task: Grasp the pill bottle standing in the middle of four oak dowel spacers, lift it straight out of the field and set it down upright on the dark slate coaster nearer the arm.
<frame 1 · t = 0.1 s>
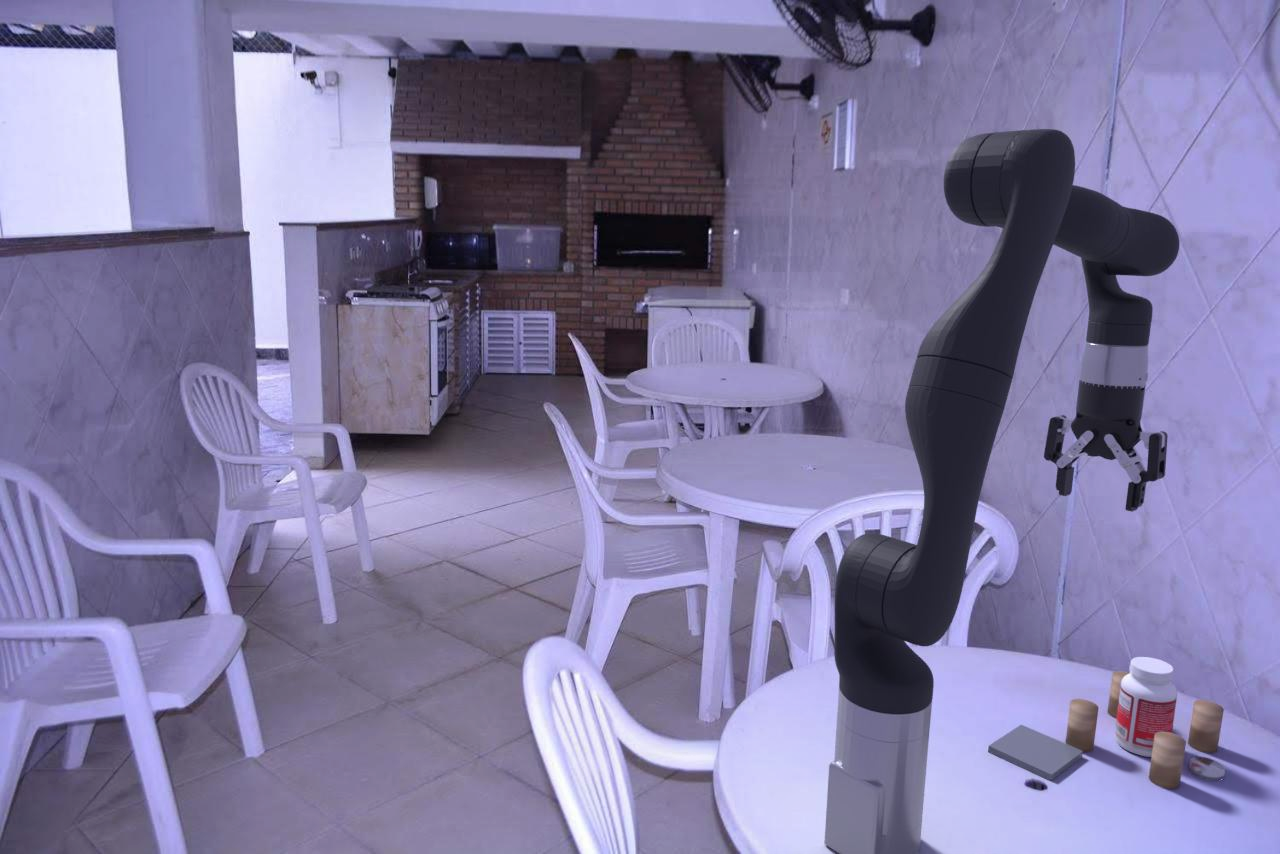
hand: (1097, 502, 119), 29 cm above the table, fingers open, 8 cm apart
shiny metal disc: (1206, 774, 110), on the table
slate coaster: (1034, 754, 114), on the table
pill bottle: (1140, 746, 116), on the table
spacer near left: (1164, 781, 109), on the table
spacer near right: (1079, 745, 116), on the table
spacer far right: (1120, 714, 124), on the table
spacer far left: (1202, 746, 116), on the table
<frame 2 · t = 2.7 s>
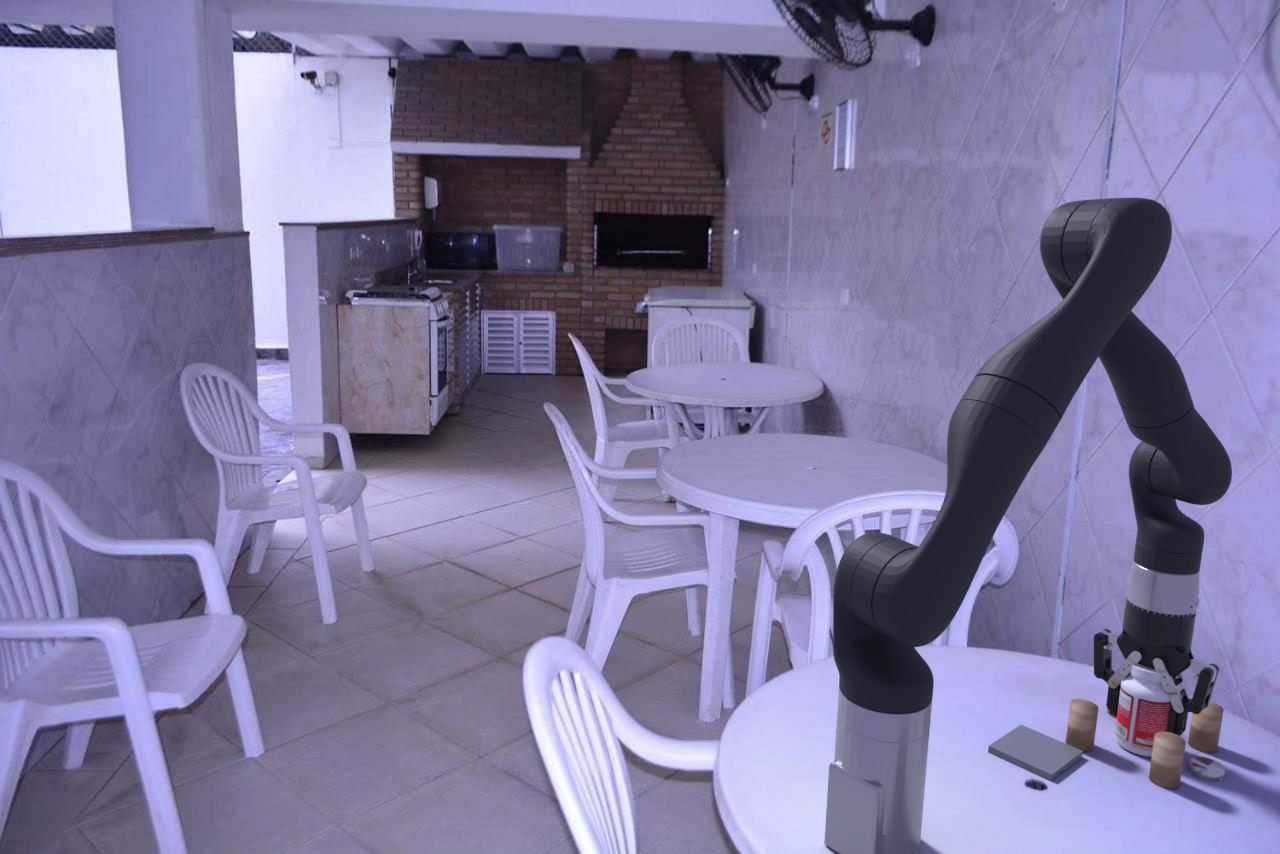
hand: (1144, 724, 115), 3 cm above the table, fingers closed on pill bottle, 6 cm apart
pill bottle: (1140, 746, 116), on the table, touching gripper
everything else where it was.
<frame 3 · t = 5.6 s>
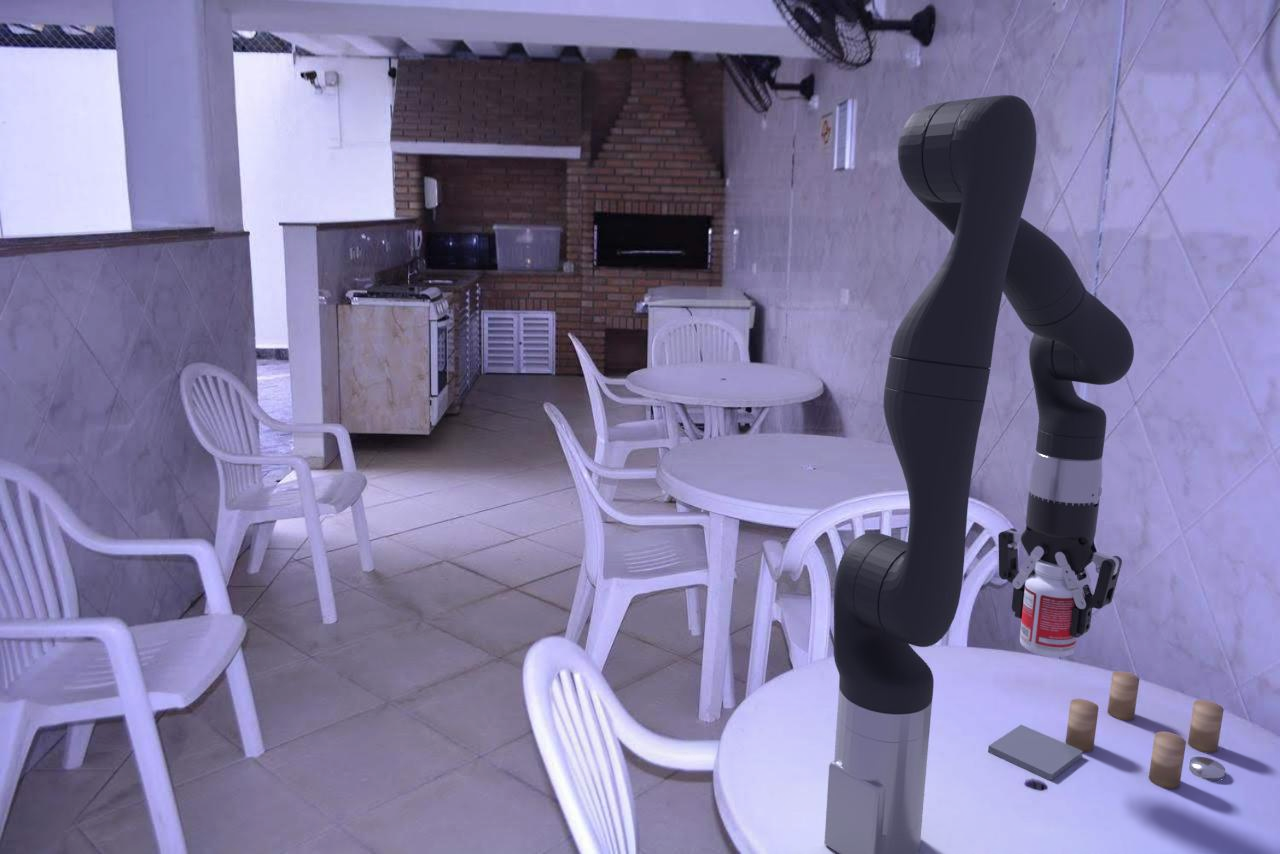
hand: (1049, 625, 110), 17 cm above the table, fingers closed on pill bottle, 6 cm apart
pill bottle: (1046, 649, 111), point 14 cm above the table, touching gripper
everything else where it was.
when the fingers open (5 cm above the table, at t = 8.3 s): pill bottle drops 1 cm, resting on slate coaster.
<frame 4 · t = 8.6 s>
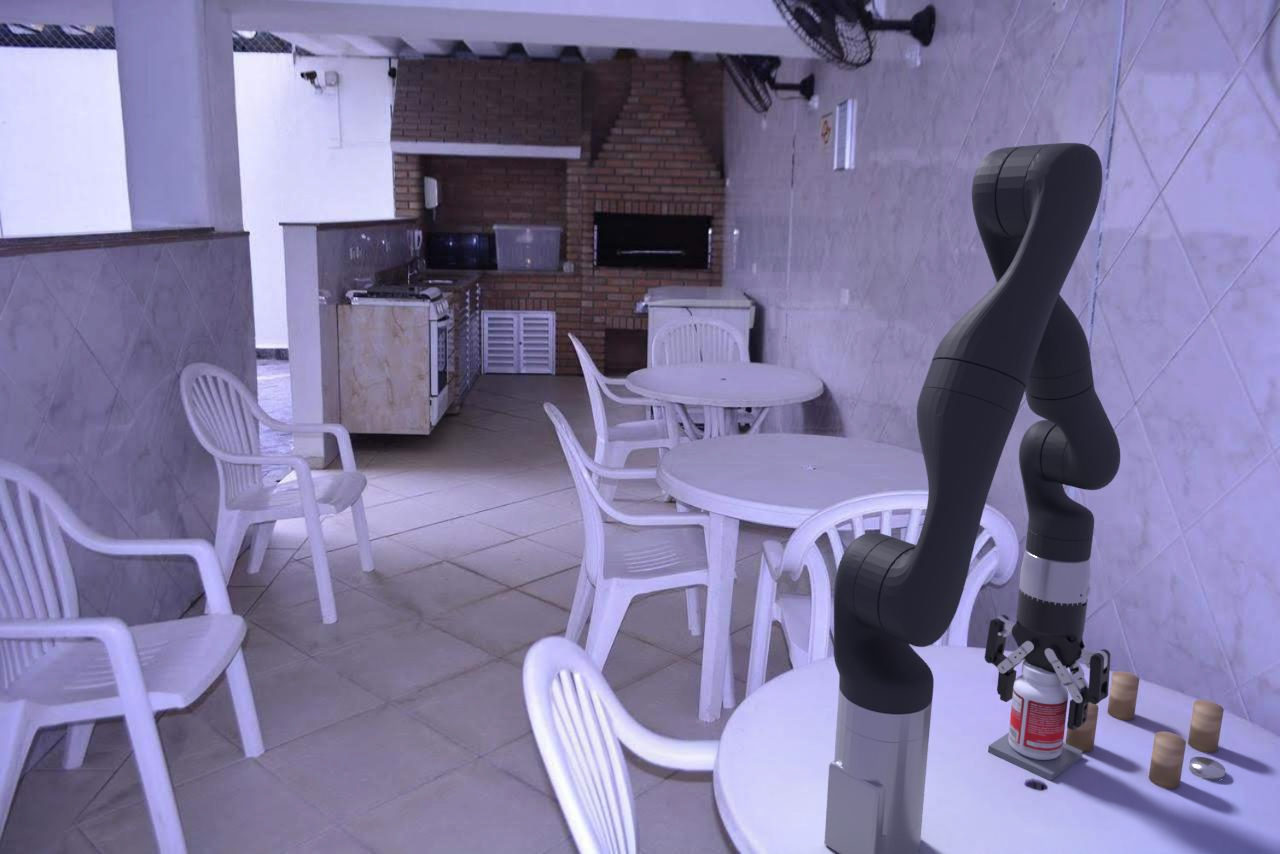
hand: (1039, 713, 113), 6 cm above the table, fingers open, 8 cm apart
pill bottle: (1034, 749, 114), point 1 cm above the table, touching slate coaster
everything else where it was.
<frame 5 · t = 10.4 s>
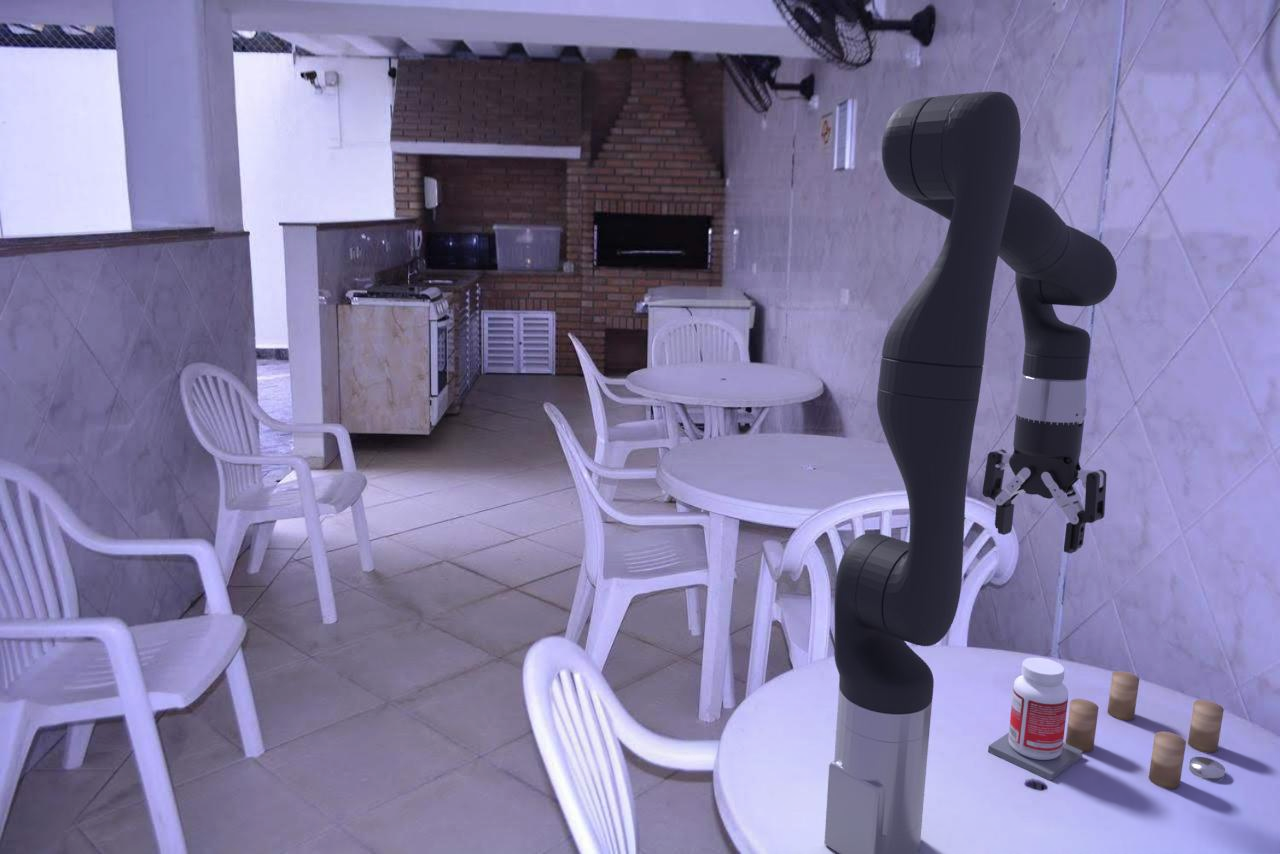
hand: (1036, 542, 113), 26 cm above the table, fingers open, 8 cm apart
nothing on the table moved.
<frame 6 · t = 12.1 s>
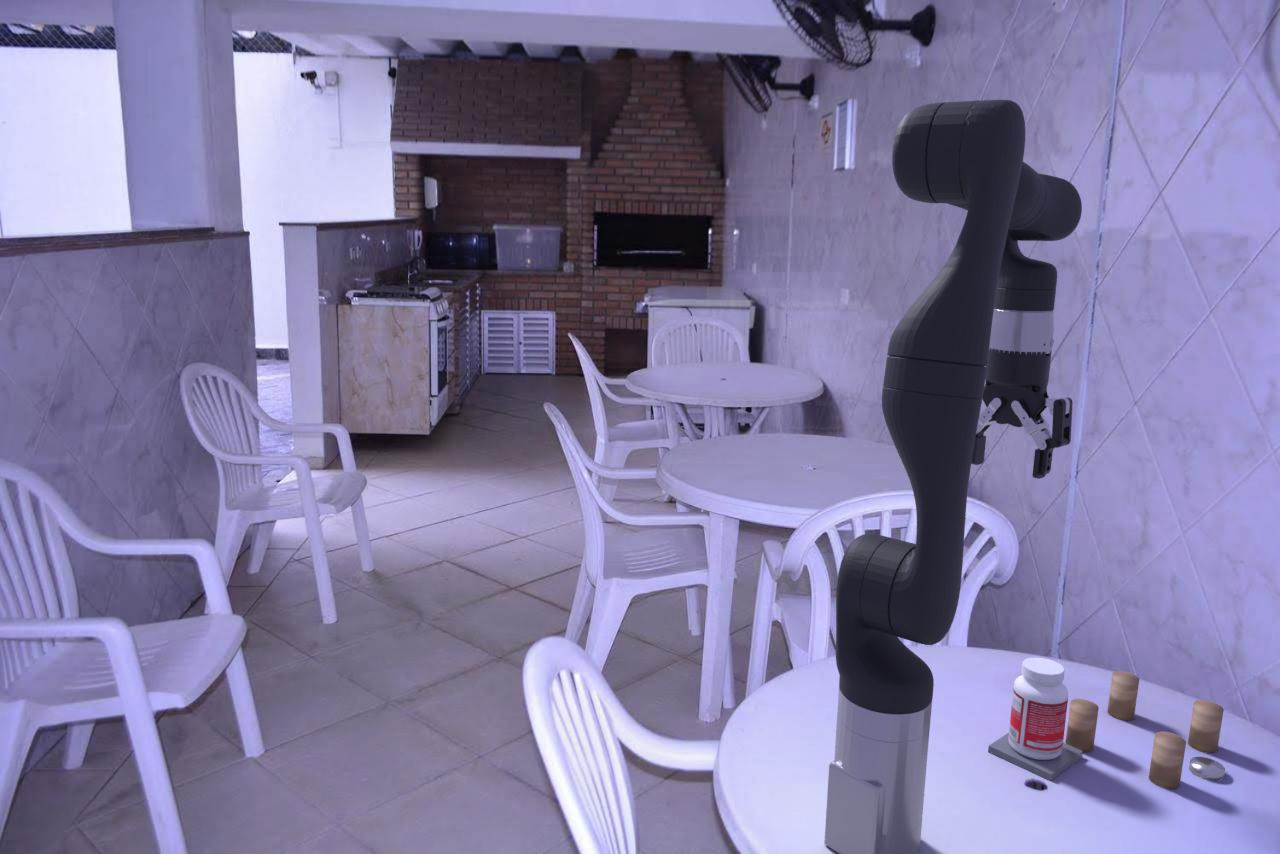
hand: (1007, 470, 119), 33 cm above the table, fingers open, 8 cm apart
nothing on the table moved.
at the end: pill bottle inside the target area on the slate coaster (0.1 cm from its centre), point 0.6 cm above the slate coaster's base; pill bottle tilted 0°; the gripper is holding nothing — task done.
